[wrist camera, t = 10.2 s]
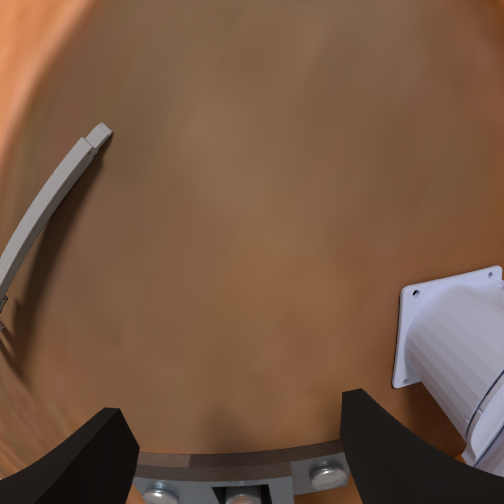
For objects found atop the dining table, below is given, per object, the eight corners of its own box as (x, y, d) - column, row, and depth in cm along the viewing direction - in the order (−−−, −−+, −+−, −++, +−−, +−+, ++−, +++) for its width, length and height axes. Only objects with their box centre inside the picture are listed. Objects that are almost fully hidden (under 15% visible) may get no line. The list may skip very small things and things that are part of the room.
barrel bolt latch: (348, 437, 20) (360, 470, 17) (343, 474, 22) (352, 503, 18) (136, 451, 21) (125, 482, 17) (158, 486, 22) (151, 514, 18)
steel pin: (255, 460, 21) (257, 528, 14) (263, 477, 21) (266, 539, 15) (223, 465, 21) (218, 530, 14) (232, 480, 22) (230, 542, 15)
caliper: (1, 340, 19) (-41, 375, 12) (-6, 331, 18) (-49, 364, 12) (115, 132, 15) (55, 115, 9) (104, 122, 15) (42, 102, 9)
